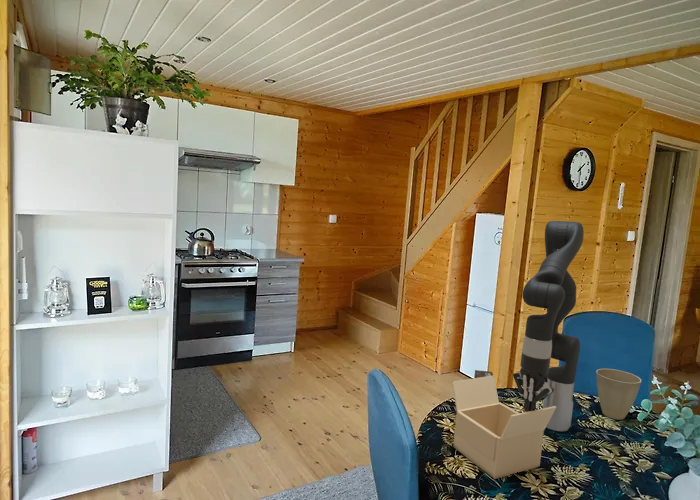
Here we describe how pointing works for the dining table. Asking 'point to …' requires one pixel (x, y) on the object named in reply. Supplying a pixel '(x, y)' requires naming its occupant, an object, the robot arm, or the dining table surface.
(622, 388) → the plant pot
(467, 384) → the flap
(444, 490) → the dining table surface
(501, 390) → the dining table surface
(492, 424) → the carton
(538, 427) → the flap
